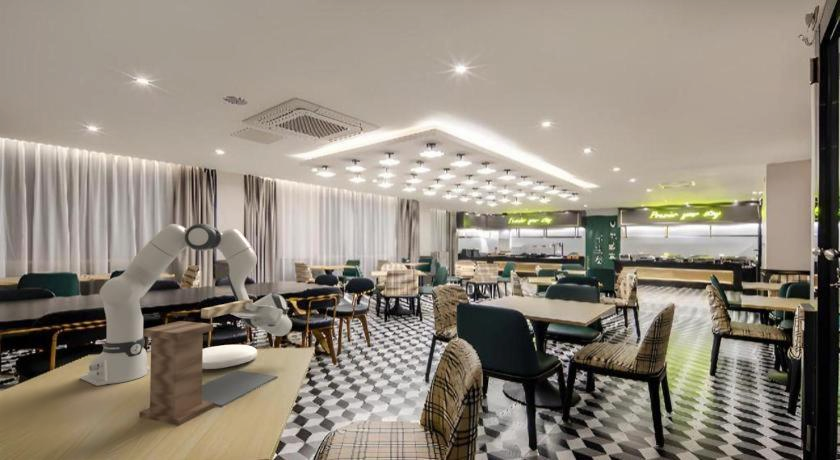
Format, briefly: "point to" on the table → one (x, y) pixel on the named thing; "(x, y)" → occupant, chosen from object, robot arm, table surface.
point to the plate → (227, 356)
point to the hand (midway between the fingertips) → (240, 304)
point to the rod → (224, 309)
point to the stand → (176, 372)
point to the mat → (233, 386)
